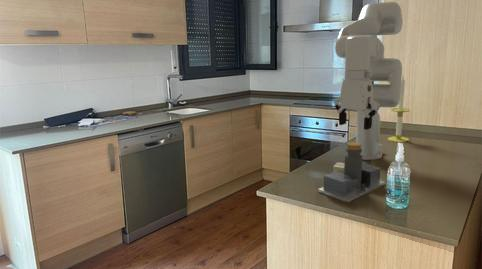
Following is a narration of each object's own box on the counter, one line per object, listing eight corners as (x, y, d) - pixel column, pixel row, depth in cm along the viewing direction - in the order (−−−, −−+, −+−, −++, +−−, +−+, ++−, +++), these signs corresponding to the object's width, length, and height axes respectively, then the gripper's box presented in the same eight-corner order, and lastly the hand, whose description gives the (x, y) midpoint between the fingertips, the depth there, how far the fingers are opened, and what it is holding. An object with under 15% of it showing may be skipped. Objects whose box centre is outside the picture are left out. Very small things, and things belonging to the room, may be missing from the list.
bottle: (362, 183, 131) (364, 142, 127) (358, 189, 126) (361, 146, 123) (345, 180, 134) (347, 140, 130) (341, 186, 129) (343, 144, 125)
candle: (405, 137, 192) (410, 73, 183) (411, 142, 182) (417, 75, 174) (385, 137, 193) (389, 74, 185) (390, 142, 183) (394, 76, 175)
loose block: (336, 172, 146) (337, 162, 145) (347, 173, 144) (347, 163, 143) (332, 176, 142) (333, 166, 141) (343, 177, 140) (343, 167, 139)
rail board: (355, 175, 141) (356, 160, 140) (384, 184, 132) (385, 168, 131) (318, 191, 128) (318, 175, 126) (347, 202, 119) (348, 185, 117)
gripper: (387, 75, 116) (384, 128, 120) (341, 73, 129) (340, 121, 133) (374, 78, 111) (371, 133, 116) (328, 74, 125) (326, 124, 129)
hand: (354, 126), depth 125 cm, fingers open, 9 cm apart
